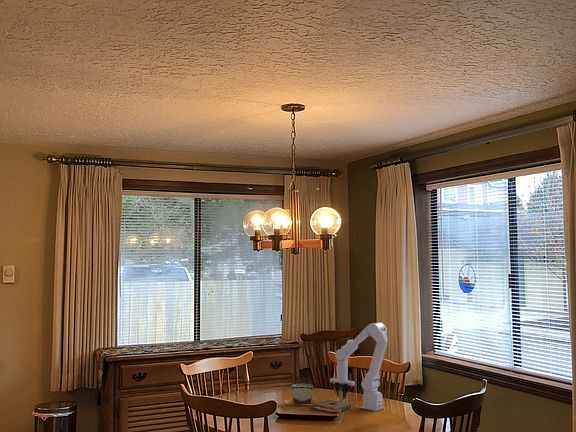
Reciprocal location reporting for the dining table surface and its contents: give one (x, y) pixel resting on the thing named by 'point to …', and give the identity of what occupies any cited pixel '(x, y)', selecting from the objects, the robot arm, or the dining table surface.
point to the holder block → (333, 405)
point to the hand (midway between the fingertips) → (341, 397)
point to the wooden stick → (341, 396)
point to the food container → (302, 393)
